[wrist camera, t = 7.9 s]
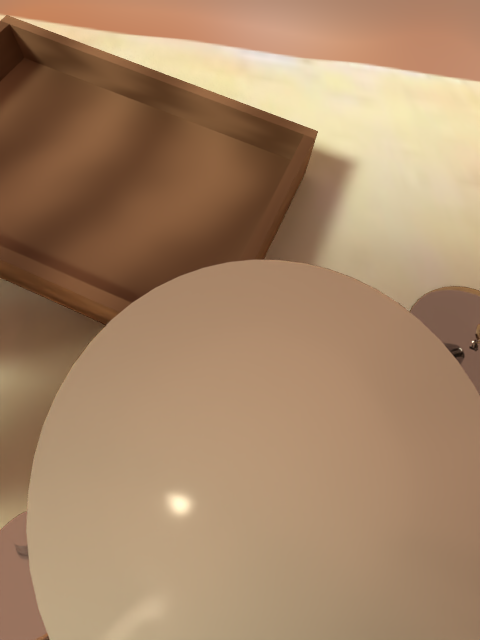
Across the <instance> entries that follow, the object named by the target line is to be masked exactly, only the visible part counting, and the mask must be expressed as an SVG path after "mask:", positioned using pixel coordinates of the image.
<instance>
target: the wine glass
mask: <svg viewBox="0 0 480 640" xmlns="http://www.w3.org/2000/svg"><path fill="white" fill-rule="evenodd" d="M410 313H411V314H413V315H414V316H415V317H416V318H418V319H419V320H420V321H421V322H422V323H423V324H424V325H425V326H426V327H427V328H428V329H429V330H430V331H431V332H432V333H433V334H435V335H436V336H437V337H438V338H439V339H440V340H441V342H442V343H443V344H444V345H445V346H446V348H447V349H448V350H449V351H450V352H451V354H452V355H453V356H454V357H455V359H456V360H457V361H458V362H459V364H460V365H461V367H462V368H463V370H464V371H465V373H466V374H467V376H468V377H469V379H470V380H471V382H472V383H473V385H474V386H475V388H476V390H477V392H478V393H479V395H480V291H479V290H476V289H472V288H468V287H460V286H450V287H442V288H438V289H434V290H432V291H430V292H428V293H426V294H425V295H423V296H422V297H421V298H420V299H418V300H417V302H416V303H415V304H414V305H413V306H412V308H411V310H410Z"/></svg>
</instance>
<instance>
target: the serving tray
mask: <svg viewBox="0 0 480 640" xmlns="http://www.w3.org/2000/svg"><path fill="white" fill-rule="evenodd" d="M317 133H318V131H316V130H313V129H310V128H308V127H305V126H302V125H300V124H297V123H294V122H292V121H289V120H286V119H284V118H281V117H278V116H276V115H273V114H270V113H268V112H265V111H262V110H260V109H257V108H254V107H251V106H249V105H246V104H243V103H241V102H238V101H235V100H233V99H230V98H227V97H225V96H222V95H219V94H217V93H214V92H211V91H209V90H206V89H203V88H201V87H198V86H195V85H193V84H190V83H187V82H184V81H182V80H179V79H176V78H174V77H171V76H168V75H166V74H163V73H160V72H158V71H155V70H152V69H150V68H147V67H144V66H142V65H139V64H136V63H134V62H131V61H128V60H126V59H123V58H120V57H118V56H115V55H112V54H109V53H107V52H104V51H101V50H99V49H96V48H93V47H91V46H88V45H85V44H83V43H80V42H77V41H75V40H72V39H69V38H67V37H64V36H61V35H59V34H56V33H53V32H51V31H48V30H45V29H42V28H40V27H37V26H34V25H32V24H29V23H26V22H24V21H21V20H18V19H16V18H13V17H10V16H8V15H7V16H5V17H4V18H3V19H2V20H1V21H0V278H3V279H5V280H7V281H9V282H11V283H14V284H16V285H18V286H20V287H23V288H25V289H27V290H29V291H32V292H34V293H36V294H38V295H41V296H43V297H45V298H47V299H49V300H52V301H54V302H56V303H58V304H61V305H63V306H65V307H67V308H70V309H72V310H74V311H76V312H79V313H81V314H83V315H85V316H87V317H90V318H92V319H94V320H96V321H99V322H101V323H103V324H105V325H107V324H108V323H109V322H110V321H111V320H112V319H113V318H114V317H116V316H117V315H118V314H119V313H120V312H122V311H123V310H124V309H125V308H126V307H128V306H129V305H130V304H131V303H133V302H134V301H136V300H137V299H139V298H140V297H142V296H143V295H145V294H147V293H148V292H150V291H151V290H153V289H154V288H156V287H158V286H160V285H162V284H164V283H166V282H168V281H170V280H172V279H175V278H177V277H179V276H181V275H184V274H187V273H190V272H193V271H196V270H198V269H201V268H204V267H209V266H213V265H218V264H223V263H227V262H235V261H245V260H264V258H265V256H266V253H267V251H268V249H269V247H270V245H271V243H272V241H273V239H274V237H275V235H276V233H277V231H278V228H279V226H280V224H281V222H282V220H283V218H284V216H285V214H286V212H287V210H288V208H289V206H290V204H291V201H292V199H293V197H294V195H295V193H296V191H297V189H298V187H299V185H300V183H301V181H302V179H303V177H304V174H305V172H306V168H307V165H308V162H309V159H310V156H311V152H312V149H313V146H314V143H315V139H316V136H317Z"/></svg>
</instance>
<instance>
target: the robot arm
mask: <svg viewBox="0 0 480 640" xmlns="http://www.w3.org/2000/svg"><path fill="white" fill-rule="evenodd" d="M26 529H27V511H25V512H23V513H22V514H20V515H18V516H17V517H15V518H14V519H12V520H11V521H10V522H8V523H7V524H6V525H5V526H4V527H3V528H2V529H1V530H0V640H50V639H49V636H48V633H47V631H46V628H45V625H44V623H43V620H42V617H41V614H40V612H39V609H38V604H37V600H36V595H35V591H34V586H33V582H32V577H31V573H30V566H29V555H28V544H27V533H26Z"/></svg>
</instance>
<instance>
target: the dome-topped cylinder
mask: <svg viewBox="0 0 480 640" xmlns="http://www.w3.org/2000/svg"><path fill="white" fill-rule="evenodd" d="M26 533H27V544H28V555H29V566H30V573H31V577H32V582H33V586H34V591H35V595H36V600H37V604H38V609H39V612H40V614H41V617H42V620H43V623H44V625H45V628H46V631H47V633H48V636H49V639H50V640H480V395H479V393H478V392H477V390H476V388H475V386H474V385H473V383H472V382H471V380H470V379H469V377H468V376H467V374H466V373H465V371H464V370H463V368H462V367H461V365H460V364H459V362H458V361H457V360H456V359H455V357H454V356H453V355H452V354H451V352H450V351H449V350H448V349H447V348H446V346H445V345H444V344H443V343H442V342H441V340H440V339H439V338H438V337H437V336H436V335H435V334H433V333H432V332H431V331H430V330H429V329H428V328H427V327H426V326H425V325H424V324H423V323H422V322H421V321H420V320H419V319H418V318H416V317H415V316H414V315H413V314H411V313H410V312H409V311H408V310H406V309H405V308H404V307H403V306H401V305H400V304H399V303H397V302H396V301H394V300H392V299H391V298H389V297H388V296H386V295H384V294H383V293H381V292H380V291H378V290H377V289H375V288H373V287H371V286H369V285H366V284H364V283H362V282H360V281H358V280H356V279H354V278H352V277H349V276H347V275H344V274H341V273H338V272H336V271H333V270H330V269H327V268H322V267H318V266H314V265H310V264H306V263H300V262H292V261H284V260H245V261H235V262H227V263H223V264H218V265H213V266H209V267H204V268H201V269H198V270H196V271H193V272H190V273H187V274H184V275H181V276H179V277H177V278H175V279H172V280H170V281H168V282H166V283H164V284H162V285H160V286H158V287H156V288H154V289H153V290H151V291H150V292H148V293H147V294H145V295H143V296H142V297H140V298H139V299H137V300H136V301H134V302H133V303H131V304H130V305H129V306H128V307H126V308H125V309H124V310H123V311H122V312H120V313H119V314H118V315H117V316H116V317H114V318H113V319H112V320H111V321H110V322H109V323H108V324H107V325H106V326H105V327H104V328H103V329H102V330H101V331H100V332H99V333H98V334H97V335H96V336H95V337H94V339H93V340H92V341H91V342H90V343H89V344H88V346H87V347H86V348H85V350H84V351H83V352H82V354H81V355H80V356H79V358H78V359H77V360H76V362H75V363H74V364H73V366H72V367H71V369H70V371H69V373H68V374H67V376H66V378H65V379H64V381H63V383H62V385H61V386H60V388H59V390H58V392H57V393H56V396H55V398H54V400H53V403H52V405H51V407H50V410H49V412H48V414H47V417H46V419H45V421H44V424H43V427H42V430H41V434H40V437H39V441H38V444H37V448H36V451H35V454H34V458H33V464H32V470H31V477H30V483H29V489H28V500H27V529H26Z"/></svg>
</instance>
